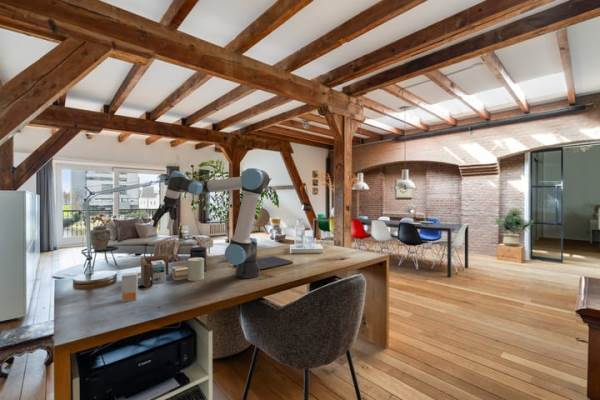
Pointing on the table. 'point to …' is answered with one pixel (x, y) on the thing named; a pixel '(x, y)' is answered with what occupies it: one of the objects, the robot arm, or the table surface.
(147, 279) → the walnut rack
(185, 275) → the oak offcut
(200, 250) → the storage jar
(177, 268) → the birch offcut
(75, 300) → the table surface
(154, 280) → the light bulb box
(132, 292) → the skincare box
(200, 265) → the can
